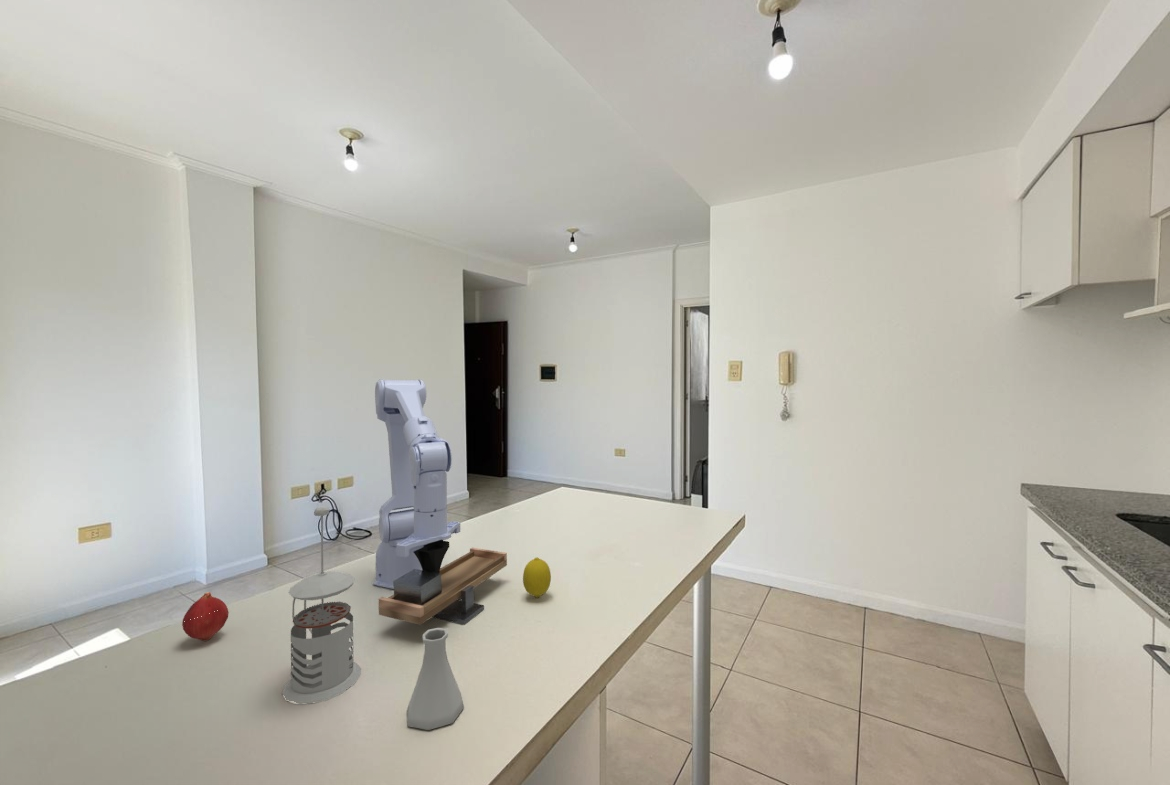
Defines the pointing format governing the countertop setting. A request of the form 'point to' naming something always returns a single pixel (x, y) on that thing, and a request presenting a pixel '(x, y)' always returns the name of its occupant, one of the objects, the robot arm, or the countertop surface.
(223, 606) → the red pomegranate
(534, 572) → the lemon
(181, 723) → the countertop surface
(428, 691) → the flask
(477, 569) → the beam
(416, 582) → the steel block
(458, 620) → the pivot stand
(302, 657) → the french press
